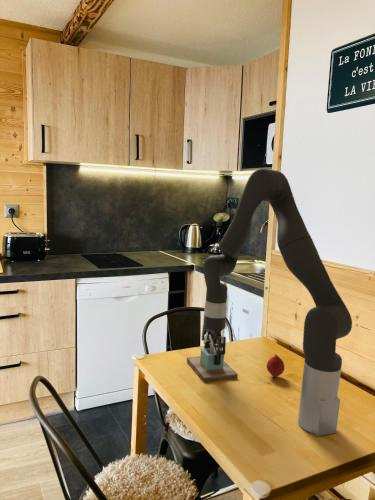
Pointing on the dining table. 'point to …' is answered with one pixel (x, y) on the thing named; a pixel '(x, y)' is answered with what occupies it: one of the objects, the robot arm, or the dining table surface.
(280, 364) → the onion
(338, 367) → the robot arm
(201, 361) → the bead
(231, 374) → the stand
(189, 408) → the dining table surface
